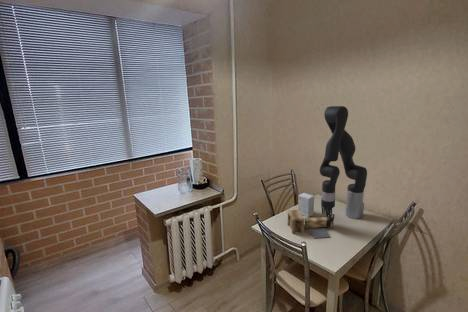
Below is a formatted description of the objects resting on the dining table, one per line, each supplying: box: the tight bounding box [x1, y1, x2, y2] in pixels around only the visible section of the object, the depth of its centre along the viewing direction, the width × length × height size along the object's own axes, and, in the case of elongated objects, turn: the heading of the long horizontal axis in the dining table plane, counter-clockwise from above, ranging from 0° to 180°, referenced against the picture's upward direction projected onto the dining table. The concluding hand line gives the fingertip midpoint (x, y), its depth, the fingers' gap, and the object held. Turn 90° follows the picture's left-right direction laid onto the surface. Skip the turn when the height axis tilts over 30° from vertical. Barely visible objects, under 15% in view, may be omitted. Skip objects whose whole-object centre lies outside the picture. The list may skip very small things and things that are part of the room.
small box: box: [297, 192, 315, 218], centre depth 163 cm, size 8×6×13 cm
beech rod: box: [304, 216, 335, 229], centre depth 147 cm, size 16×4×4 cm, turn 91°
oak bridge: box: [287, 209, 305, 235], centre depth 147 cm, size 6×11×9 cm, turn 2°
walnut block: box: [289, 218, 301, 232], centre depth 147 cm, size 6×6×6 cm
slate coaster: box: [308, 227, 331, 239], centre depth 141 cm, size 9×9×1 cm
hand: (327, 224), depth 148 cm, fingers closed on beech rod, 3 cm apart
